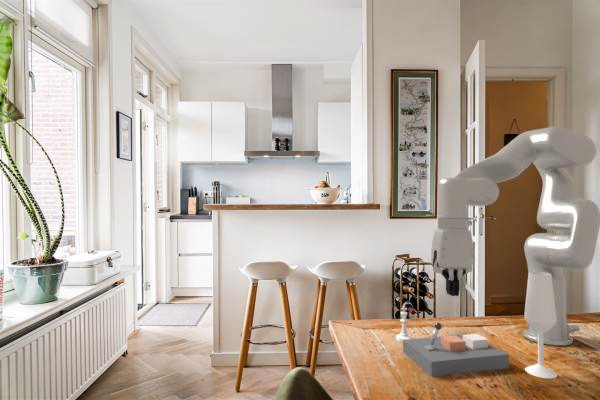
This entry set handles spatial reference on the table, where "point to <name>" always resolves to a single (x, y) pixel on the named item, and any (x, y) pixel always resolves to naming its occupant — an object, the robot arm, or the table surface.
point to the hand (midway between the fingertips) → (452, 294)
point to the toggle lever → (435, 333)
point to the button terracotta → (453, 343)
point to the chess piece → (403, 327)
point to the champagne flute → (540, 316)
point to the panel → (453, 357)
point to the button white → (475, 341)
